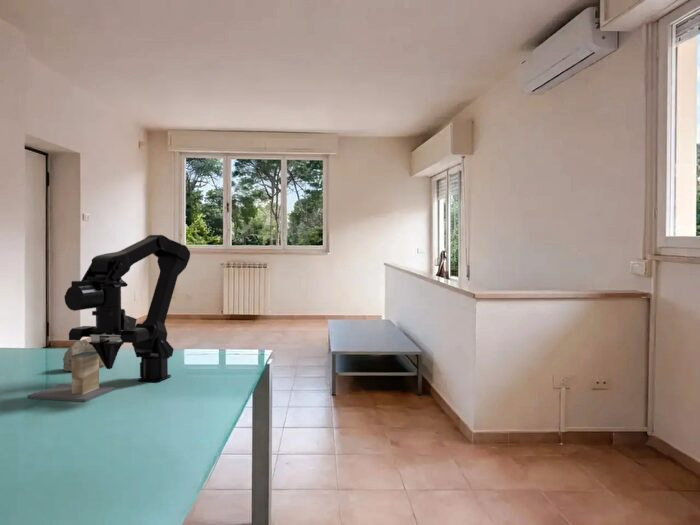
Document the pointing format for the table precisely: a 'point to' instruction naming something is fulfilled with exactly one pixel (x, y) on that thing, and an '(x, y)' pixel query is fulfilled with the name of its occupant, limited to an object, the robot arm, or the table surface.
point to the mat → (69, 393)
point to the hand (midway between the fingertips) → (109, 368)
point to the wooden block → (85, 372)
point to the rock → (77, 349)
